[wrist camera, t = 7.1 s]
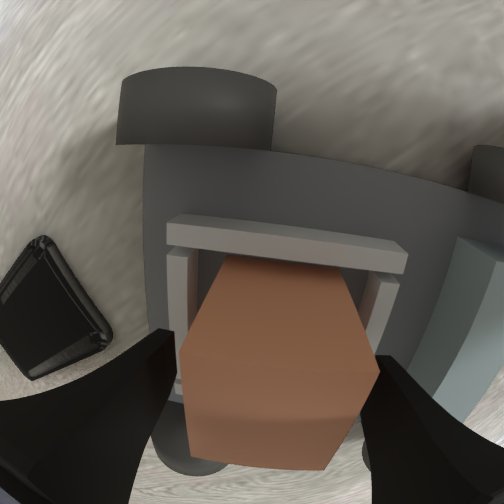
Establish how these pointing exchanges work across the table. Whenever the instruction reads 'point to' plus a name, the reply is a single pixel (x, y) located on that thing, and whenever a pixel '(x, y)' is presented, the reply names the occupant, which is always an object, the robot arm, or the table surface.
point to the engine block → (274, 366)
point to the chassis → (312, 235)
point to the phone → (47, 313)
